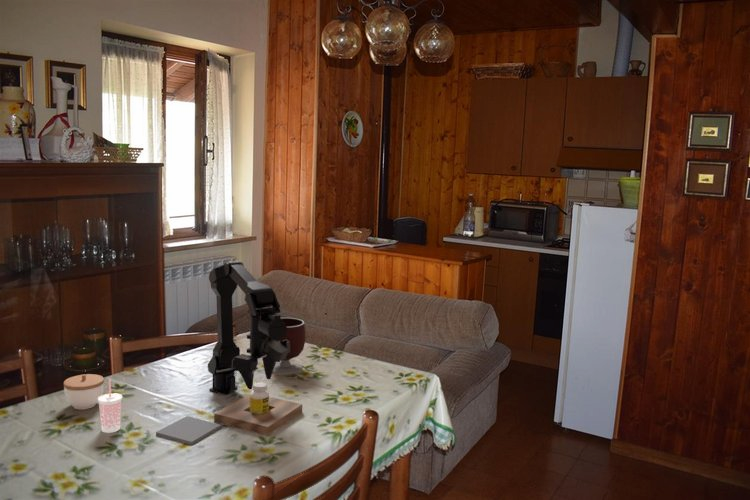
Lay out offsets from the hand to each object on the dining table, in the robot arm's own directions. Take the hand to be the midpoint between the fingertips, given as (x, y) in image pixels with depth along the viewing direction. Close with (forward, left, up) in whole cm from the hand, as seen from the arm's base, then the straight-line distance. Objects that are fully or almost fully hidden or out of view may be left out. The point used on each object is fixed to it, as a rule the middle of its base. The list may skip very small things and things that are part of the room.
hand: (259, 383), depth 179 cm
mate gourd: (-16, +38, -10) cm, 42 cm away
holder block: (0, 0, -10) cm, 10 cm away
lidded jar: (-49, -18, -10) cm, 53 cm away
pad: (-11, -17, -10) cm, 23 cm away
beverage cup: (-30, -26, -10) cm, 41 cm away
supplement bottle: (0, 0, -10) cm, 10 cm away
